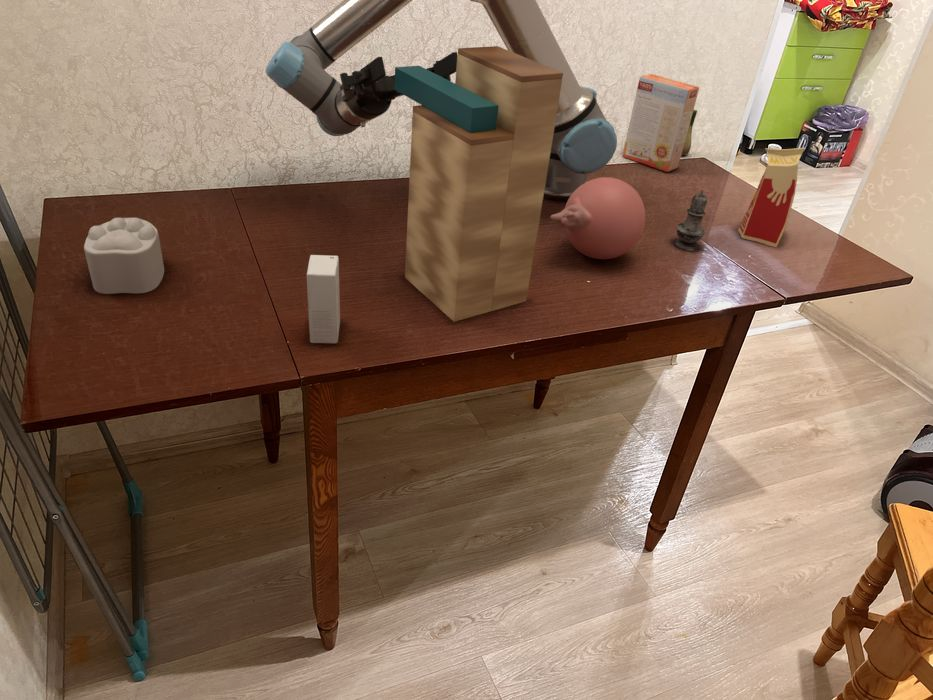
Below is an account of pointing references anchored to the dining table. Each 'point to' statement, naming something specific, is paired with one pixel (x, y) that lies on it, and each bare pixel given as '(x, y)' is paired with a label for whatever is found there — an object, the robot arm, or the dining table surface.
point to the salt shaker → (692, 224)
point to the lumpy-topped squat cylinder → (124, 256)
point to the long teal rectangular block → (446, 98)
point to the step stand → (481, 187)
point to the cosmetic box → (323, 298)
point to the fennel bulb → (689, 135)
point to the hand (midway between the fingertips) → (420, 63)
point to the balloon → (603, 218)
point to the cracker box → (660, 122)
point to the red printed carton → (772, 198)
